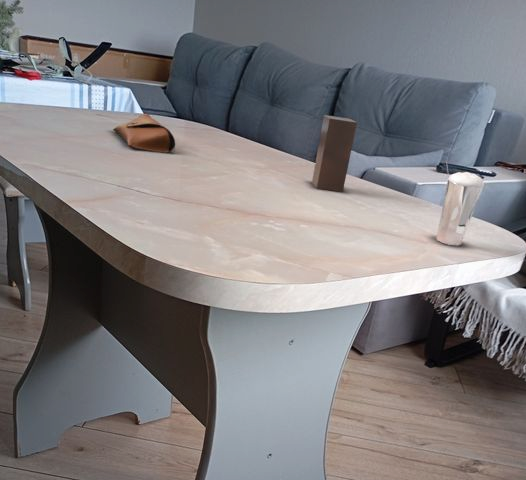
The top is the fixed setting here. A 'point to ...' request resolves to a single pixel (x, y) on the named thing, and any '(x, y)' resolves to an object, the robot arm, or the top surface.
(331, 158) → the walnut pillar
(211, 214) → the top surface
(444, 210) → the milkshake
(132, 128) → the sunglasses case
